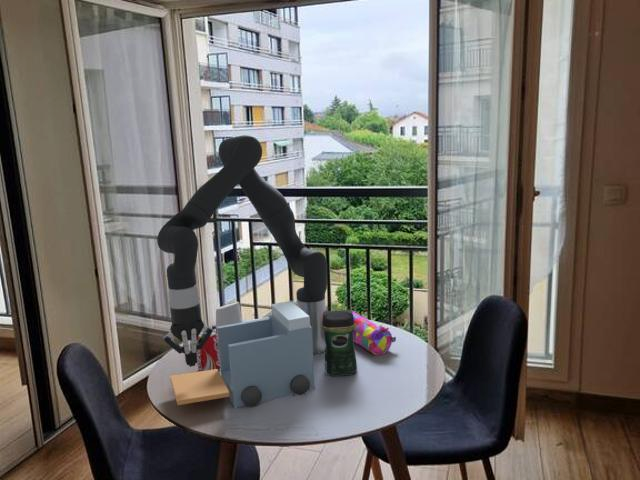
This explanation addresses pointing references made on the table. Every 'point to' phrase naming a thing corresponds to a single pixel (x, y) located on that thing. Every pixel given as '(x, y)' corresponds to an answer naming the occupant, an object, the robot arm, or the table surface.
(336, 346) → the coffee jar
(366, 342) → the pencil case
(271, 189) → the robot arm
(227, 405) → the table surface
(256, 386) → the pickup
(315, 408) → the table surface
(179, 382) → the panel
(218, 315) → the smart speaker
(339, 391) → the table surface
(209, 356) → the soda can
